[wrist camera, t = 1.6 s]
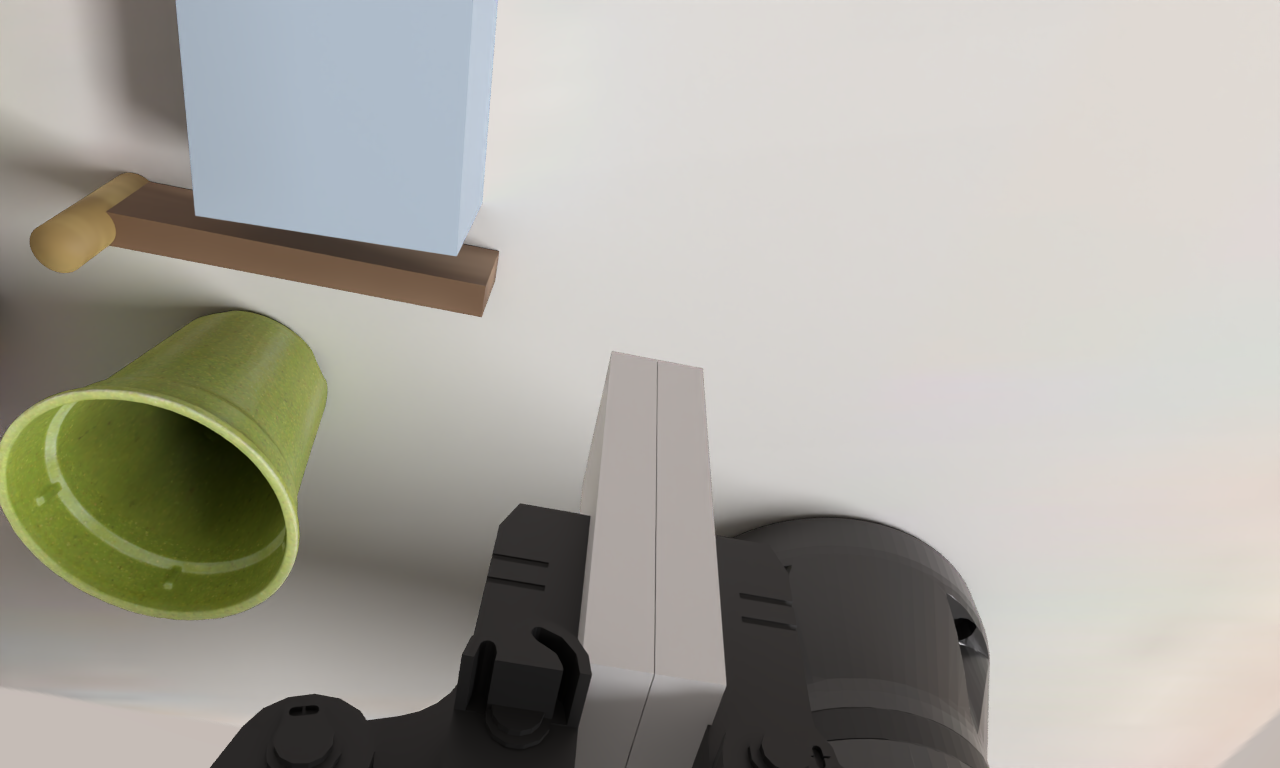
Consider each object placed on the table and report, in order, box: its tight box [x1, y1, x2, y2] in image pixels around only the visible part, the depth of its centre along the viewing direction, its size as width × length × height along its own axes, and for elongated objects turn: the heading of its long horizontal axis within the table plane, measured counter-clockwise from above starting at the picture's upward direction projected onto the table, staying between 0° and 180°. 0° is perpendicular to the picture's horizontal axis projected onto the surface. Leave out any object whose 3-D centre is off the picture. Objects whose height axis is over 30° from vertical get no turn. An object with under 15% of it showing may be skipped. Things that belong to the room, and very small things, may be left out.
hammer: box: [30, 173, 499, 317], centre depth 28 cm, size 14×14×5 cm
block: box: [176, 0, 498, 256], centre depth 29 cm, size 8×8×5 cm
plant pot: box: [0, 311, 327, 620], centre depth 33 cm, size 9×9×9 cm
